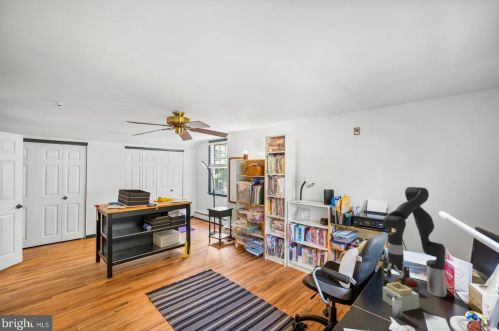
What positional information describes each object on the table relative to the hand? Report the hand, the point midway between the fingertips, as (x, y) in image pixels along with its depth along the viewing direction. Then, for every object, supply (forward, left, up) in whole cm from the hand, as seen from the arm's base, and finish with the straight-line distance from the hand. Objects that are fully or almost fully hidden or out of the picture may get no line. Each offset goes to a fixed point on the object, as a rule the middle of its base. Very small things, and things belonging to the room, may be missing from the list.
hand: (396, 281), depth 121 cm
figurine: (-27, -20, -19) cm, 38 cm away
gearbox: (-12, -10, -19) cm, 24 cm away
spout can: (0, 0, -19) cm, 19 cm away
